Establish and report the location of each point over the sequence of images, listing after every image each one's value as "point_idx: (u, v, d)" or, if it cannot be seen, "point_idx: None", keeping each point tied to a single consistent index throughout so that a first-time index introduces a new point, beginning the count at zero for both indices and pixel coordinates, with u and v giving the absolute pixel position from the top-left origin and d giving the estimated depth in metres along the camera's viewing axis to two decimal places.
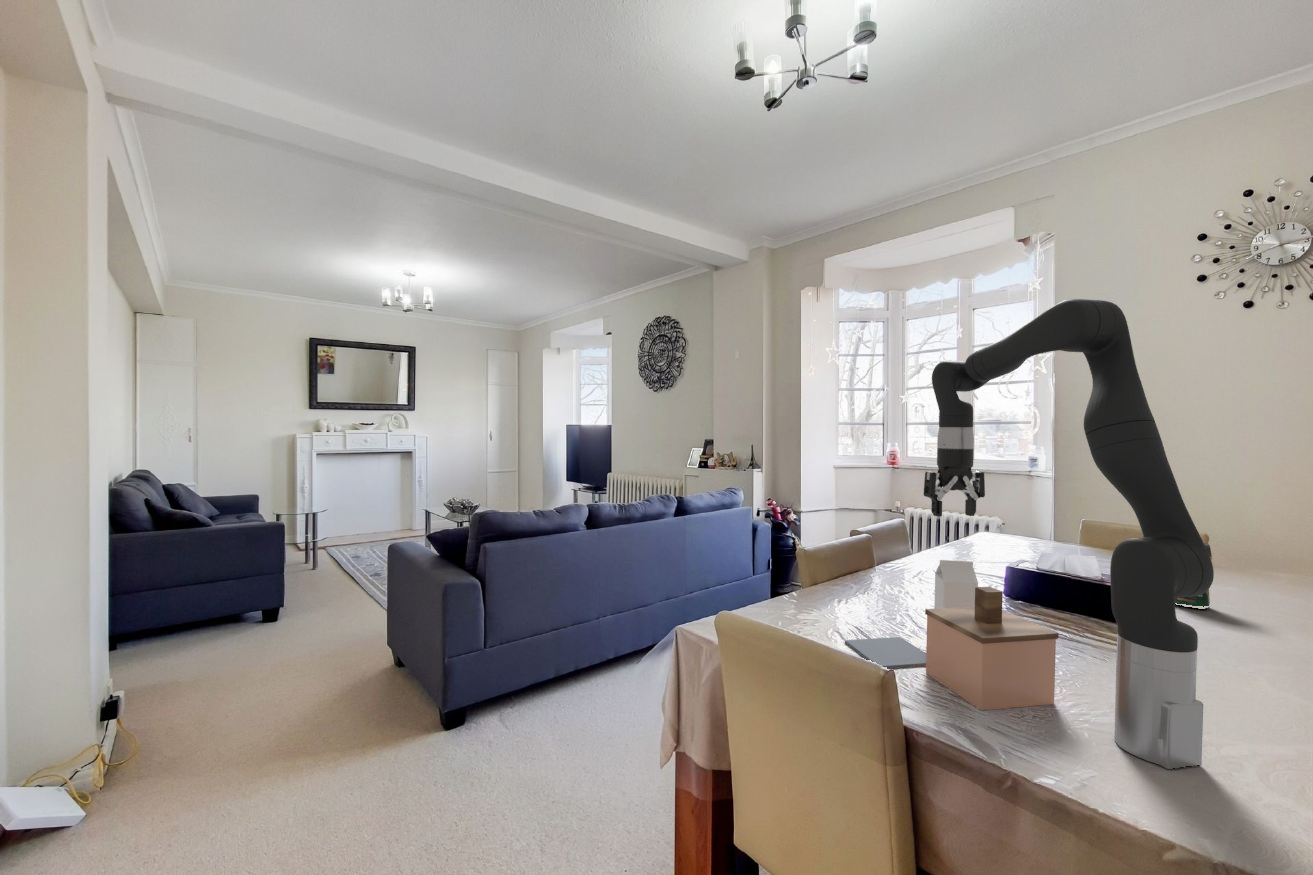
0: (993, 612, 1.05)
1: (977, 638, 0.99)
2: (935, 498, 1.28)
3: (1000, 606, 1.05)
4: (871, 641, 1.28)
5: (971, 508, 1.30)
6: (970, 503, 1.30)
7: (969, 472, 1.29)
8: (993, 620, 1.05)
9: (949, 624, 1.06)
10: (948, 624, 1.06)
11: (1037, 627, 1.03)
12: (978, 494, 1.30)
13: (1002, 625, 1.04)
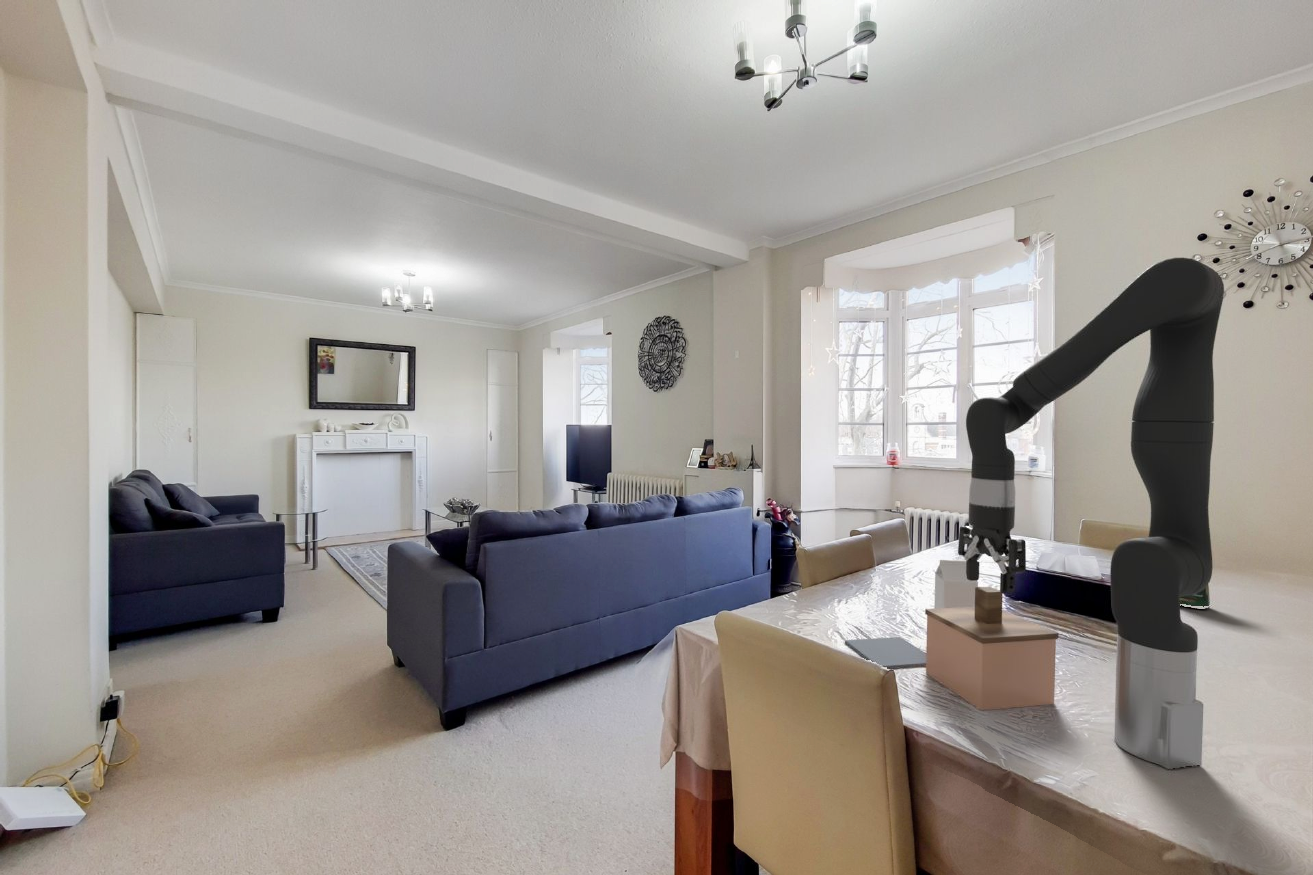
0: (993, 612, 1.05)
1: (977, 638, 0.99)
2: None
3: (1000, 606, 1.05)
4: (871, 641, 1.28)
5: (978, 571, 1.10)
6: (976, 565, 1.10)
7: None
8: (993, 620, 1.05)
9: (949, 624, 1.06)
10: (948, 624, 1.06)
11: (1037, 627, 1.03)
12: None
13: (1002, 625, 1.04)
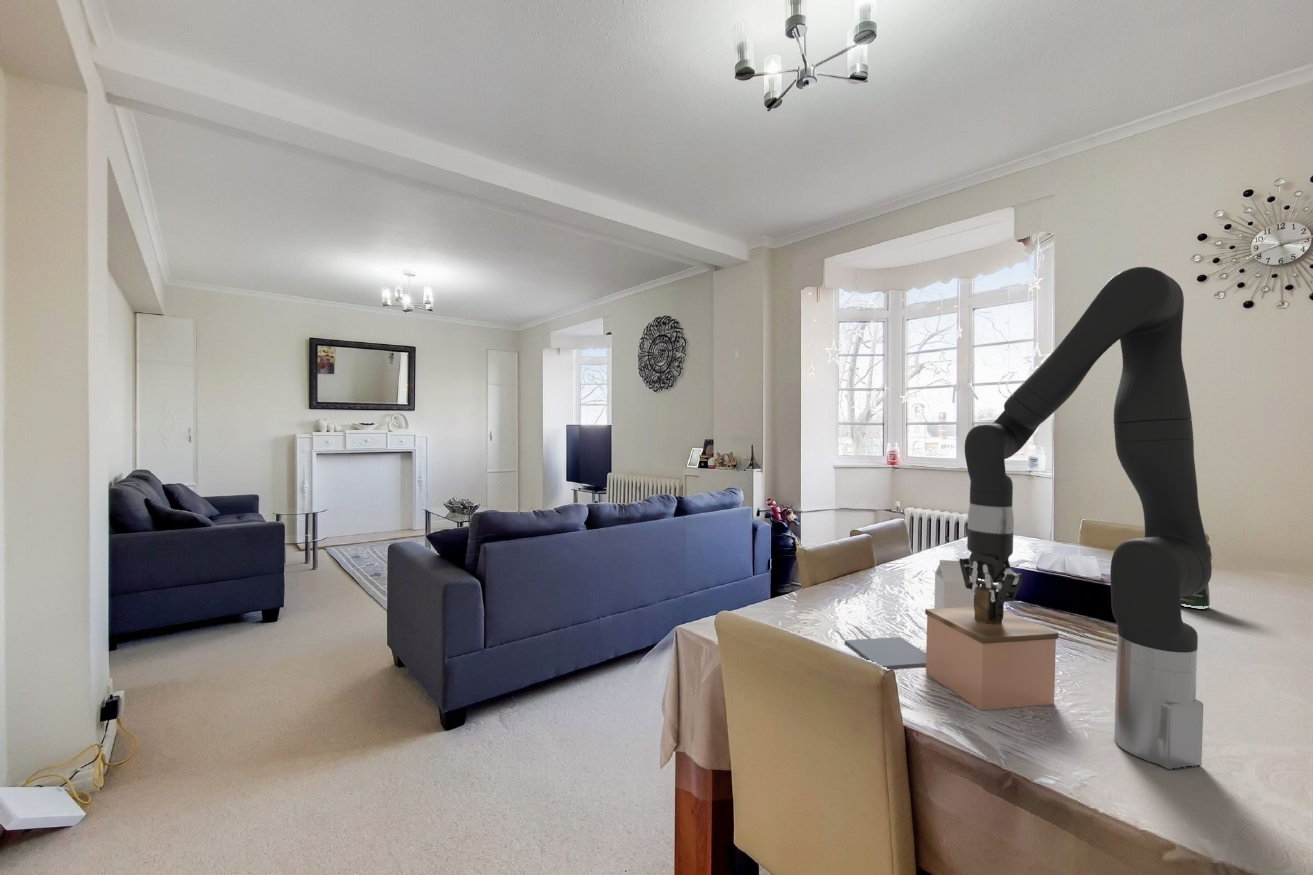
0: None
1: (977, 638, 0.99)
2: None
3: None
4: (871, 641, 1.28)
5: None
6: None
7: None
8: None
9: (949, 624, 1.06)
10: (948, 624, 1.06)
11: (1037, 627, 1.03)
12: None
13: (1002, 625, 1.04)
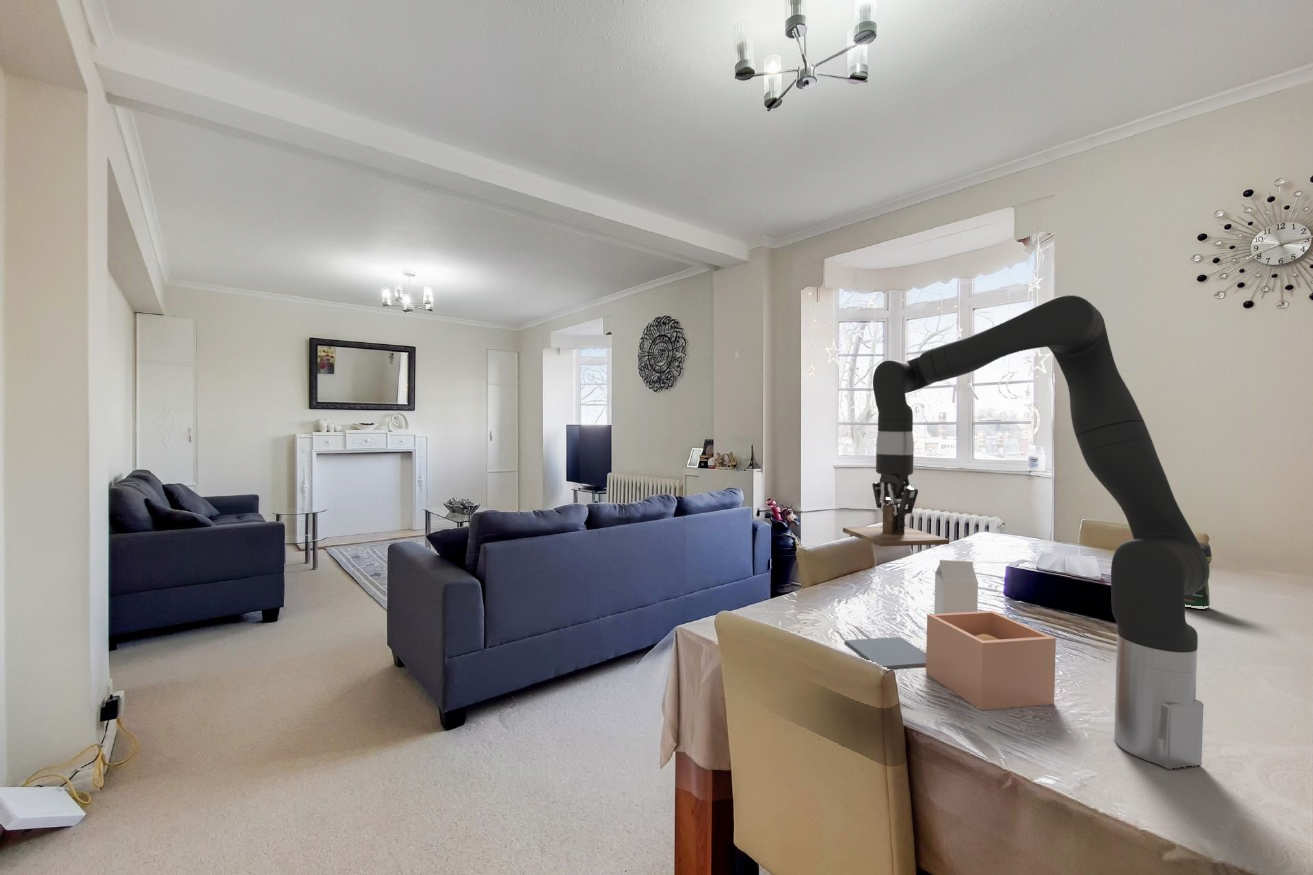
0: None
1: (877, 542, 1.14)
2: (905, 513, 1.19)
3: None
4: (871, 641, 1.28)
5: None
6: None
7: None
8: None
9: (859, 536, 1.21)
10: (858, 536, 1.21)
11: (933, 536, 1.18)
12: (887, 504, 1.25)
13: (903, 535, 1.19)
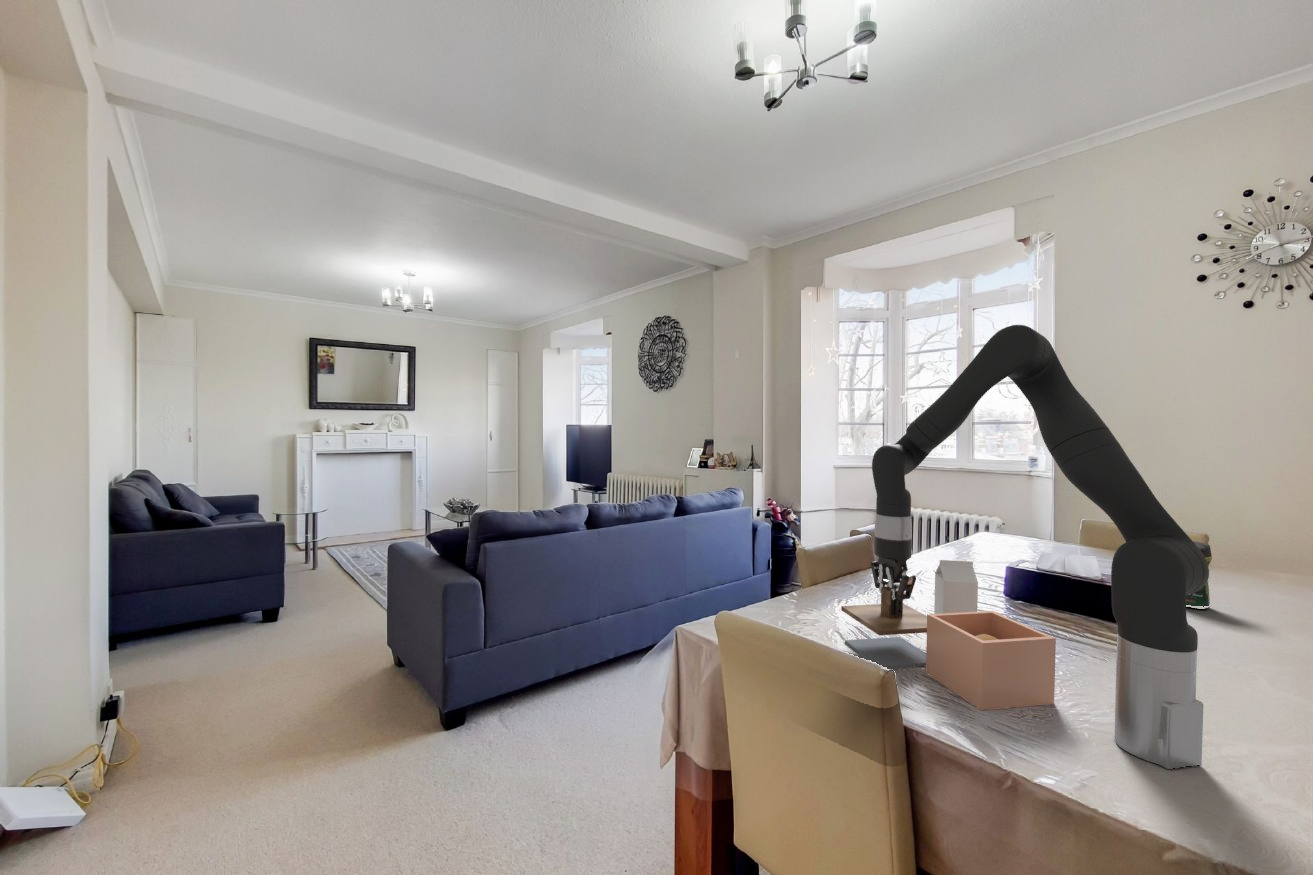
0: None
1: (875, 631, 1.14)
2: None
3: None
4: (871, 641, 1.28)
5: None
6: None
7: None
8: None
9: (857, 619, 1.22)
10: (856, 619, 1.22)
11: None
12: (886, 584, 1.26)
13: (901, 620, 1.19)
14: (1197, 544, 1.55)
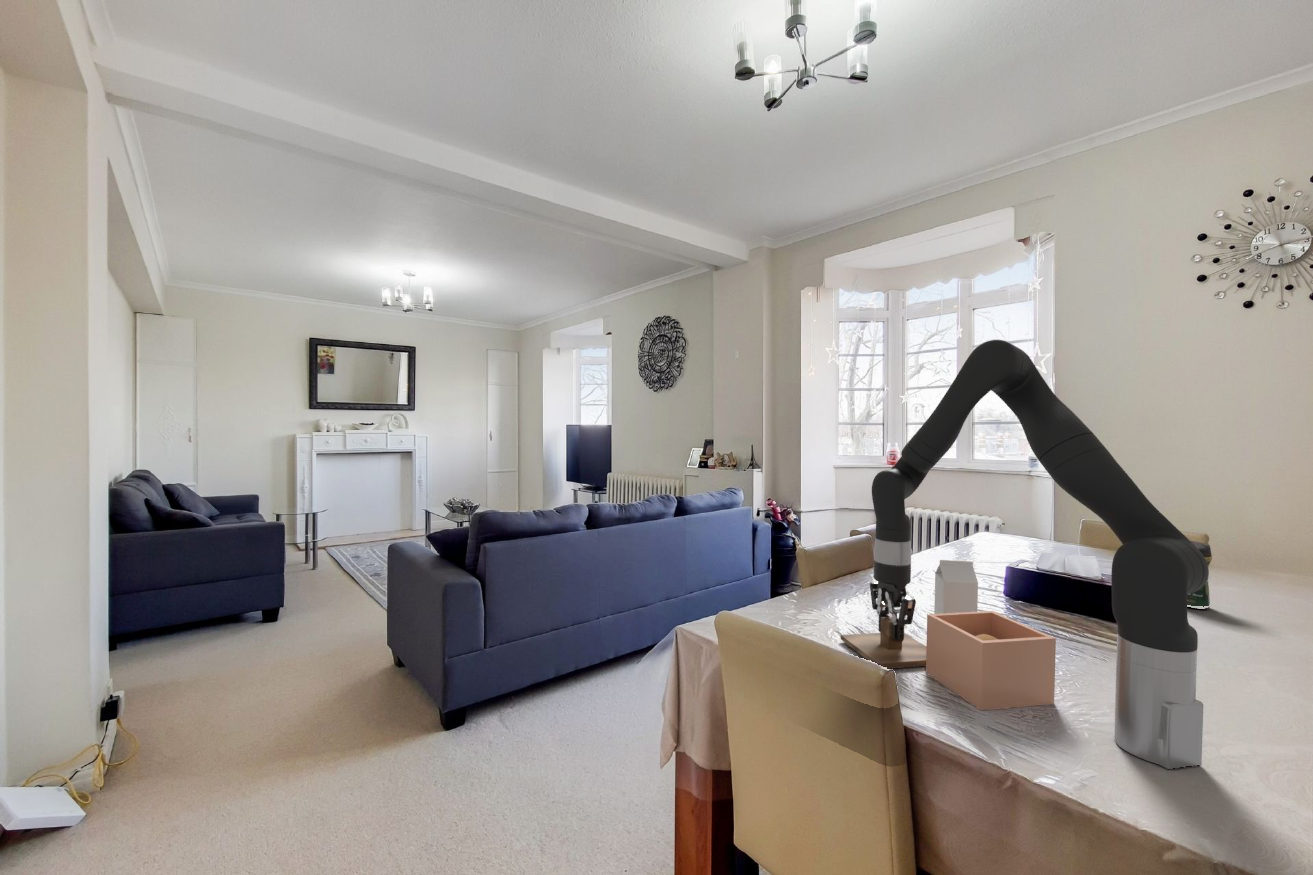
0: None
1: None
2: None
3: None
4: None
5: None
6: None
7: None
8: (894, 646, 1.21)
9: (857, 649, 1.22)
10: (856, 649, 1.22)
11: None
12: None
13: (900, 651, 1.19)
14: (1197, 544, 1.55)
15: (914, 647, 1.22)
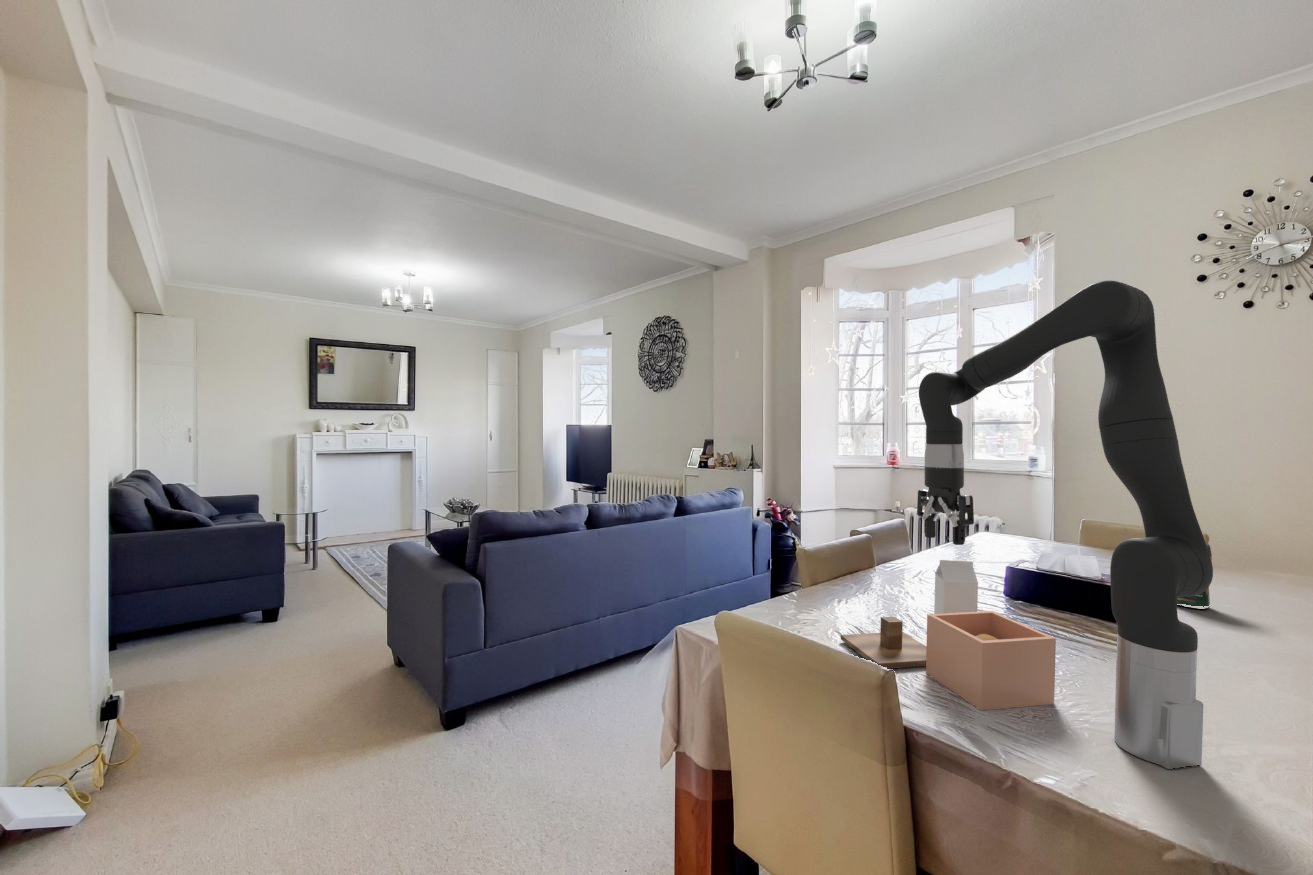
0: (894, 639, 1.21)
1: None
2: (965, 524, 1.14)
3: (901, 634, 1.21)
4: None
5: (934, 529, 1.23)
6: (933, 524, 1.23)
7: None
8: (894, 646, 1.21)
9: (857, 649, 1.22)
10: (856, 649, 1.22)
11: None
12: None
13: (900, 651, 1.19)
14: None
15: (914, 647, 1.22)
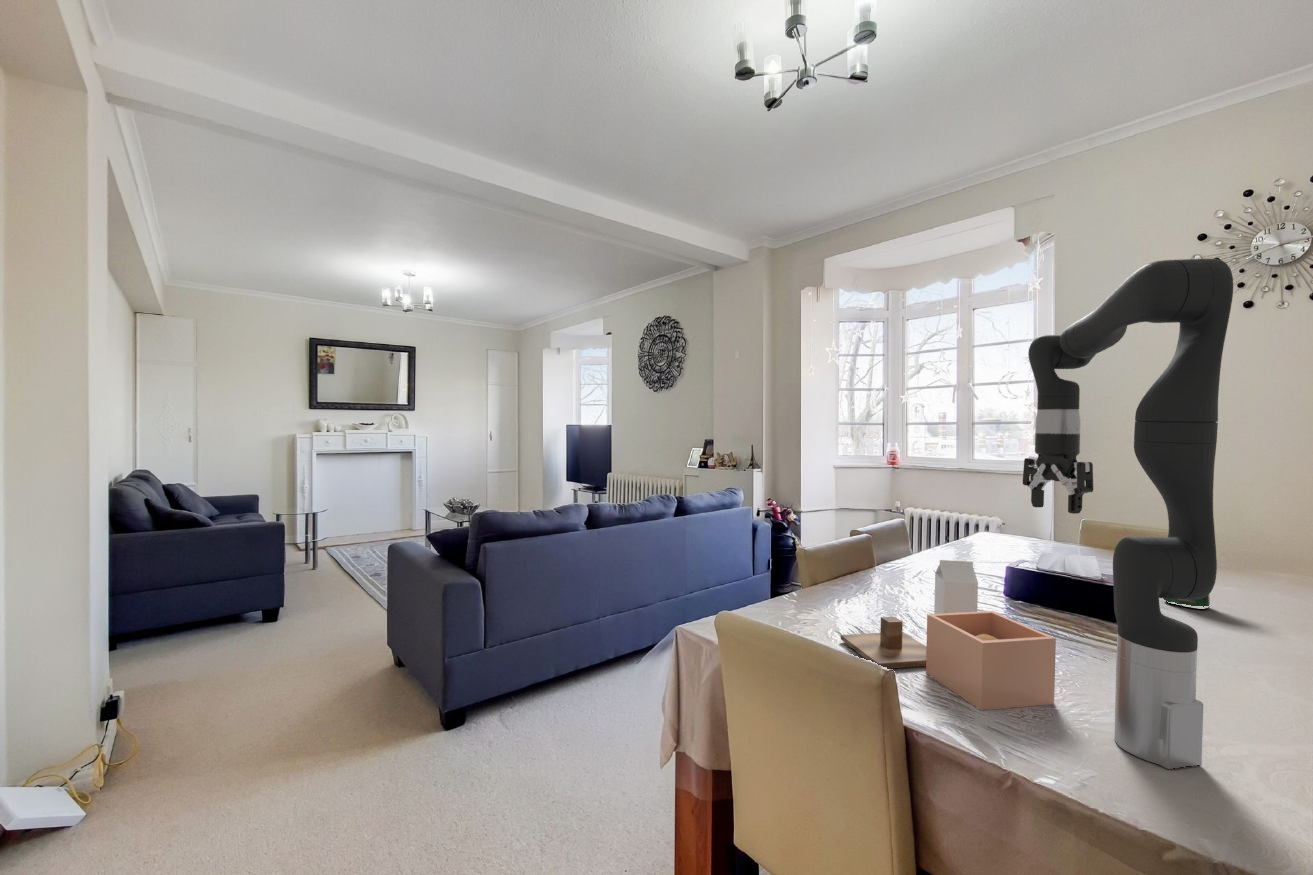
0: (894, 639, 1.21)
1: None
2: None
3: (901, 634, 1.21)
4: None
5: (1042, 498, 1.19)
6: (1041, 493, 1.19)
7: None
8: (894, 646, 1.21)
9: (857, 649, 1.22)
10: (856, 649, 1.22)
11: None
12: None
13: (900, 651, 1.19)
14: None
15: (914, 647, 1.22)
